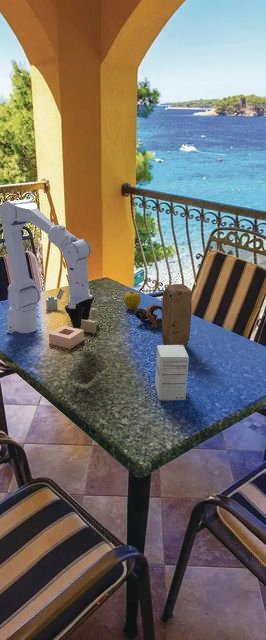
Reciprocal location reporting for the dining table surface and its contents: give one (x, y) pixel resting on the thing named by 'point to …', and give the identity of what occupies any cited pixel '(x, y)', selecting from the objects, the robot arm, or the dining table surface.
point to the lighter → (53, 301)
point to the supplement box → (171, 372)
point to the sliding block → (66, 337)
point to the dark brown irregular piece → (149, 315)
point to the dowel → (94, 315)
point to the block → (176, 314)
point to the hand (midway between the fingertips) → (81, 323)
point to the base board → (88, 326)
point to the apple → (132, 300)
